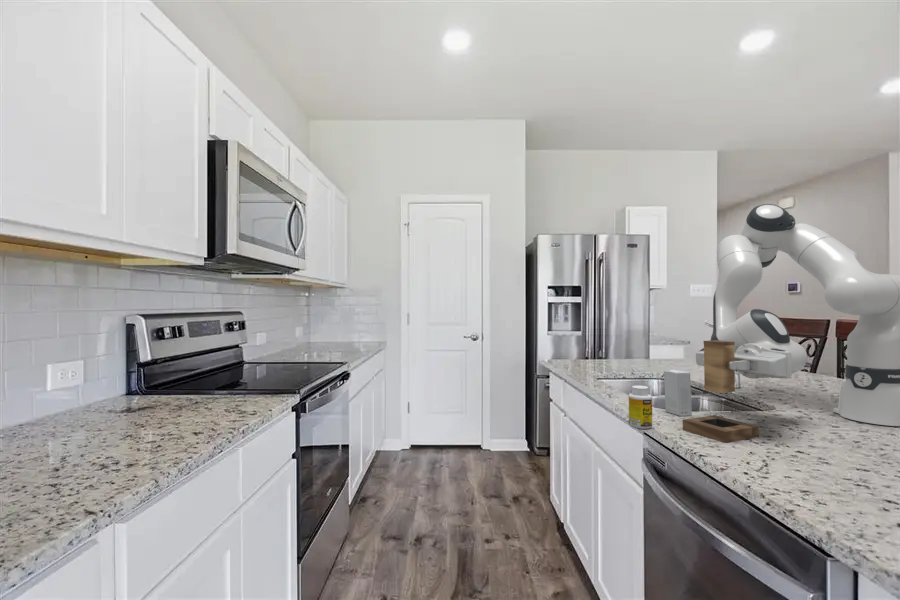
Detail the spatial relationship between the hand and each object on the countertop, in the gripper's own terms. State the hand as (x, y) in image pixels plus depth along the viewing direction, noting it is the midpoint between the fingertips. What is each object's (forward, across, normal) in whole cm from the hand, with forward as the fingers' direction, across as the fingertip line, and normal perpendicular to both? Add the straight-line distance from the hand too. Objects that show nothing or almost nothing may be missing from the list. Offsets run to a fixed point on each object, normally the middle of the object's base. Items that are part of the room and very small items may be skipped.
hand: (716, 363), depth 107 cm
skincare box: (-8, -18, +17) cm, 26 cm away
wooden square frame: (-1, 0, +17) cm, 17 cm away
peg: (-1, 0, +6) cm, 7 cm away
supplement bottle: (+12, -12, +17) cm, 24 cm away
